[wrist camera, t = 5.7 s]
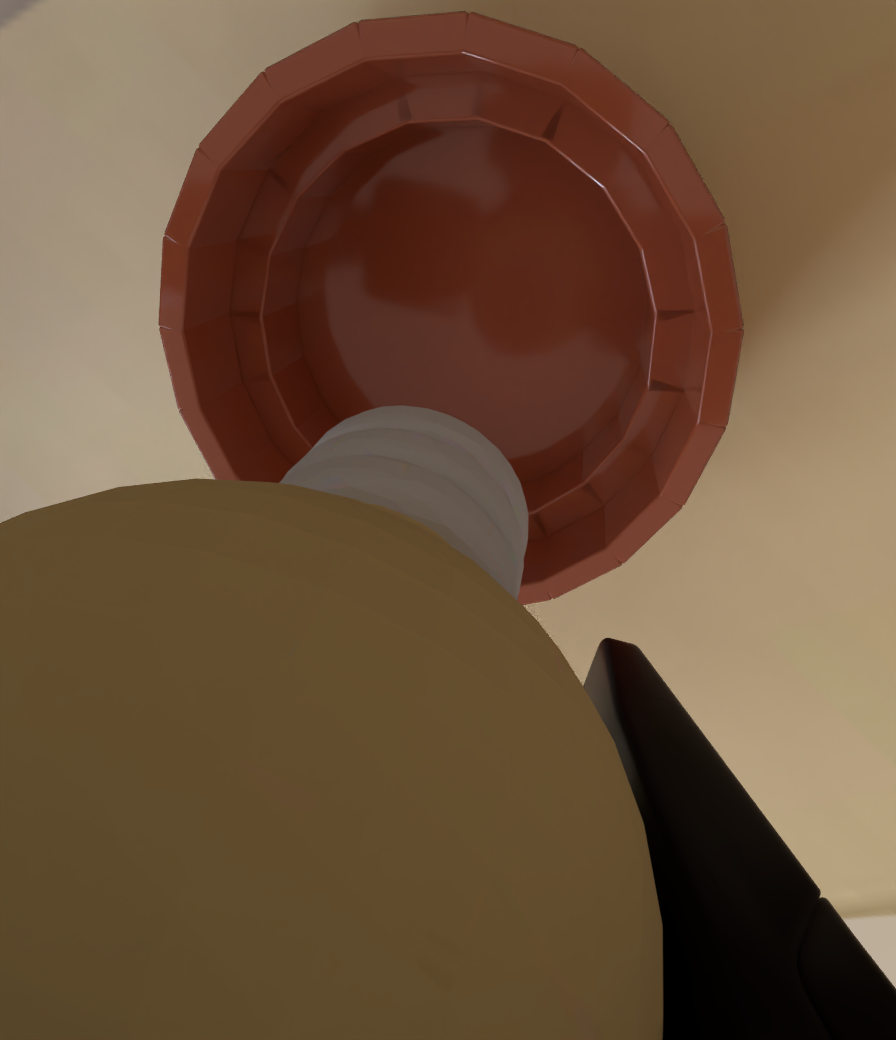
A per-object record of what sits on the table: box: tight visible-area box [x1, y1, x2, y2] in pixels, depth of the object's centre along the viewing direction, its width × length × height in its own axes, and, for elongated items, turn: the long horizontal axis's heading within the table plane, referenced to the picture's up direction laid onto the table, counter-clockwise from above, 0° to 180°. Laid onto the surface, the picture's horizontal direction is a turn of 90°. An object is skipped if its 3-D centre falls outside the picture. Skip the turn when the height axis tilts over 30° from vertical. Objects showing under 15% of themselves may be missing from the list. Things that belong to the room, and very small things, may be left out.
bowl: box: [159, 11, 744, 605], centre depth 16 cm, size 12×12×5 cm
